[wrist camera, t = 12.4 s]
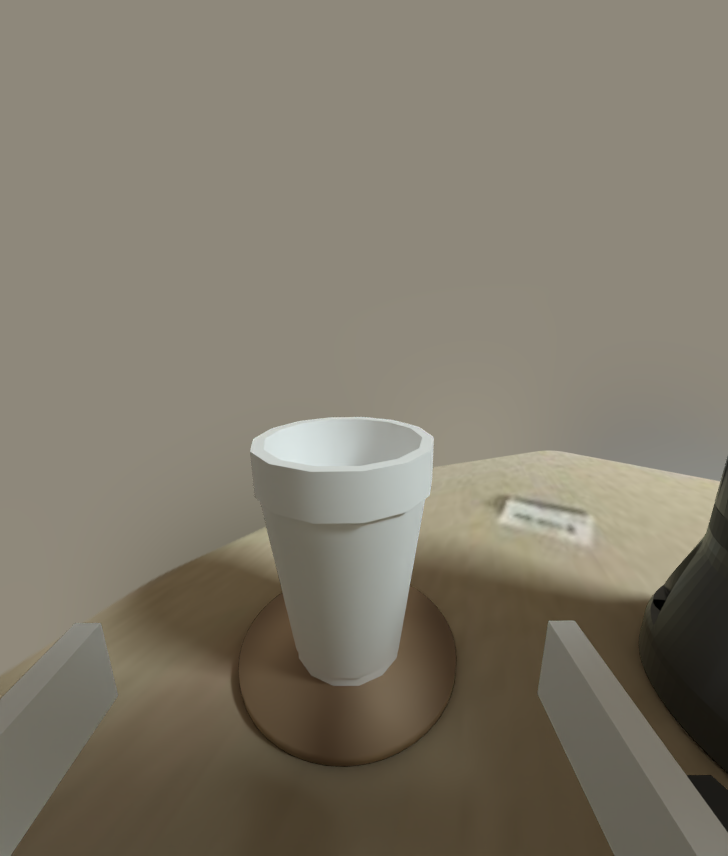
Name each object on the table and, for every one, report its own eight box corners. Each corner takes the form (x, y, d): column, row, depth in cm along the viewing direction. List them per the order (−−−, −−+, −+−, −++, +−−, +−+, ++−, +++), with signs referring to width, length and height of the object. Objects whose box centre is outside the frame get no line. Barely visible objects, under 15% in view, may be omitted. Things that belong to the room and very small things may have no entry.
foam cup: (416, 737, 17) (426, 481, 14) (239, 695, 19) (209, 463, 16) (429, 596, 26) (436, 420, 23) (307, 578, 28) (297, 414, 25)
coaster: (431, 575, 29) (432, 569, 29) (488, 762, 17) (489, 752, 16) (268, 579, 29) (268, 572, 29) (201, 770, 16) (199, 760, 16)
